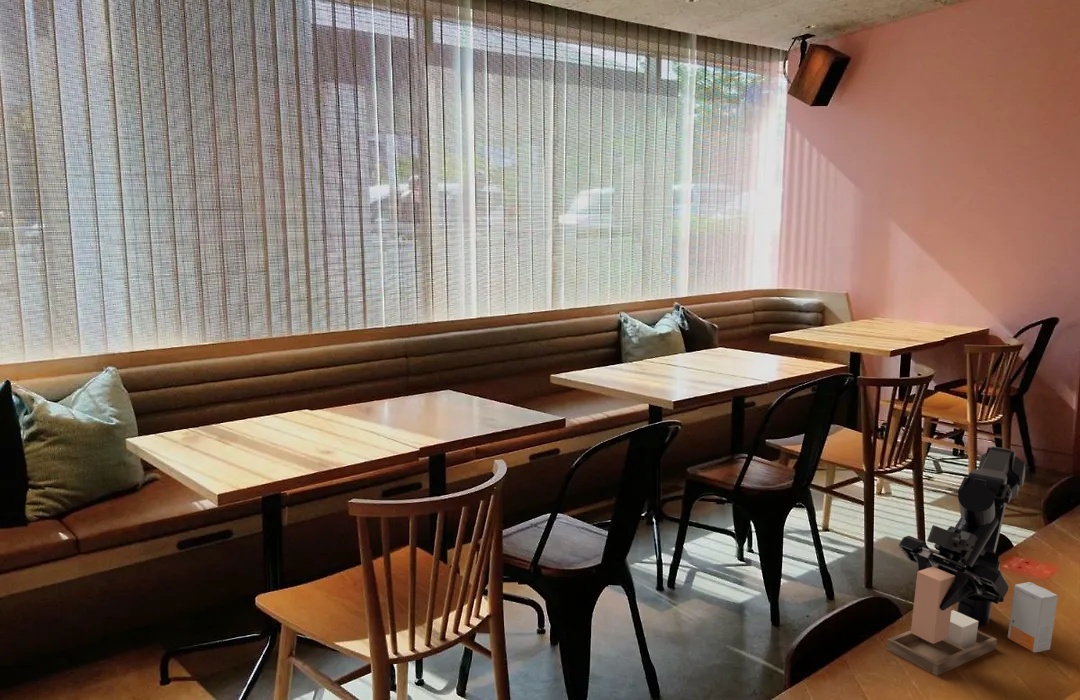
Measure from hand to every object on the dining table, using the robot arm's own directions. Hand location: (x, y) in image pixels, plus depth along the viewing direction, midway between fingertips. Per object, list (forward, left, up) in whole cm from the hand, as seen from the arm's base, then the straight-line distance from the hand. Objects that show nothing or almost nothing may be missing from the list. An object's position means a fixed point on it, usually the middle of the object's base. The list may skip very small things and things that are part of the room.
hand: (928, 603), depth 150 cm
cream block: (-10, 0, -10) cm, 15 cm away
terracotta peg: (-1, 0, -7) cm, 7 cm away
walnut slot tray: (-6, 0, -11) cm, 13 cm away
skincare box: (-23, +7, -12) cm, 27 cm away
